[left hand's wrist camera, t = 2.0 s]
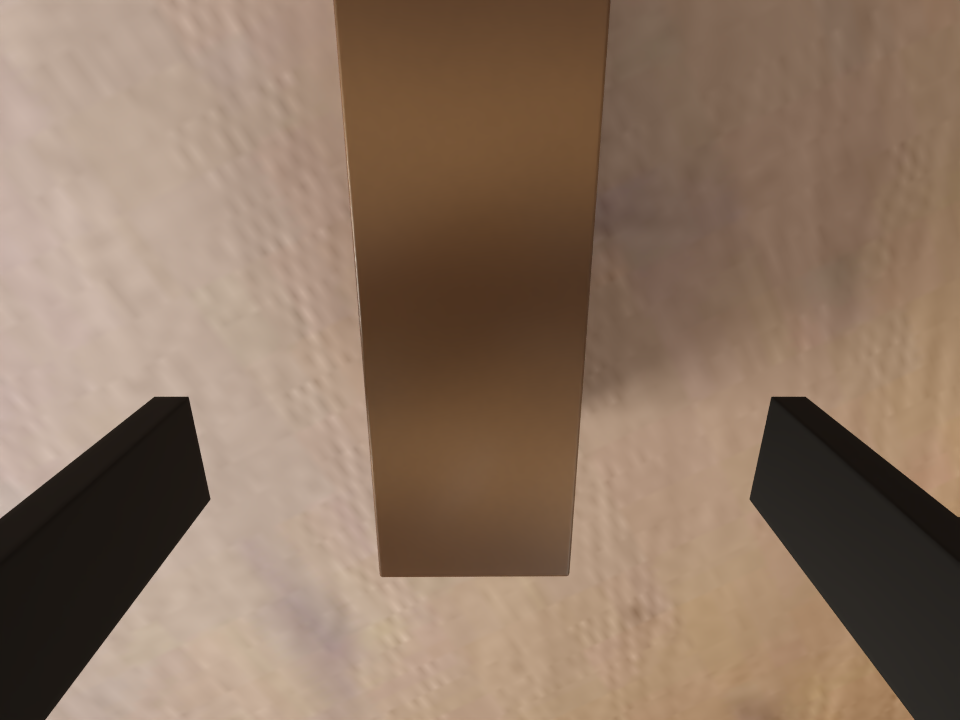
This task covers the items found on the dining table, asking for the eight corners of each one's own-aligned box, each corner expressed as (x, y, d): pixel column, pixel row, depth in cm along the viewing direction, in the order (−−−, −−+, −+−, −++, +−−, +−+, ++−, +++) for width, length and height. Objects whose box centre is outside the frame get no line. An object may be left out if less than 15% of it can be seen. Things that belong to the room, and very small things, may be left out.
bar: (535, 420, 23) (569, 577, 15) (414, 421, 23) (379, 578, 15) (571, -493, 14) (716, -1466, 6) (371, -494, 14) (211, -1478, 6)
